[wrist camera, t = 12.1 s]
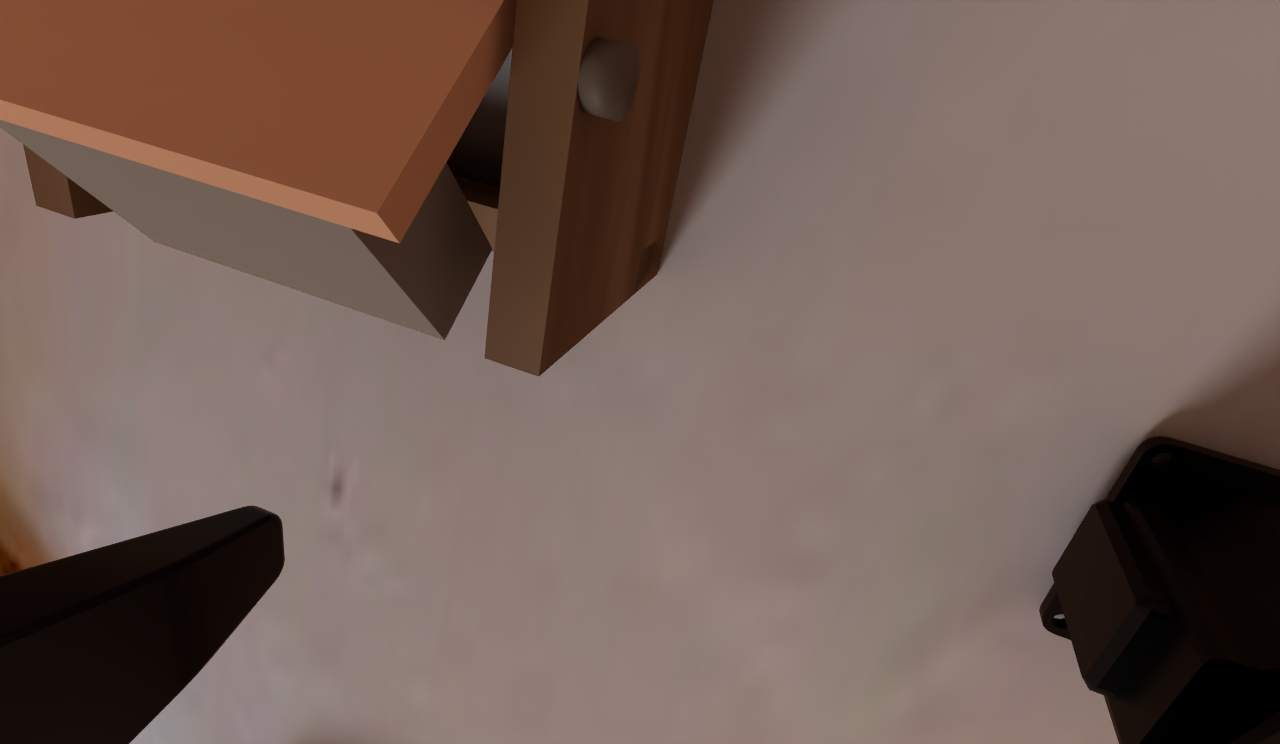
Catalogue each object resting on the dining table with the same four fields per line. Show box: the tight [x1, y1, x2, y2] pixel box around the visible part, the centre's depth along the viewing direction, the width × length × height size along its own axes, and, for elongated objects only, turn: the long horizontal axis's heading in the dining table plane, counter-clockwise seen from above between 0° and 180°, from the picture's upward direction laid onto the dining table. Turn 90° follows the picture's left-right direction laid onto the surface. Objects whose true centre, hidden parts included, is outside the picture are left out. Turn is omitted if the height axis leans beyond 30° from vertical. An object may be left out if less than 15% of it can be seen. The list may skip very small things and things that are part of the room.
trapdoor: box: [0, 0, 517, 340], centre depth 15 cm, size 10×11×5 cm
